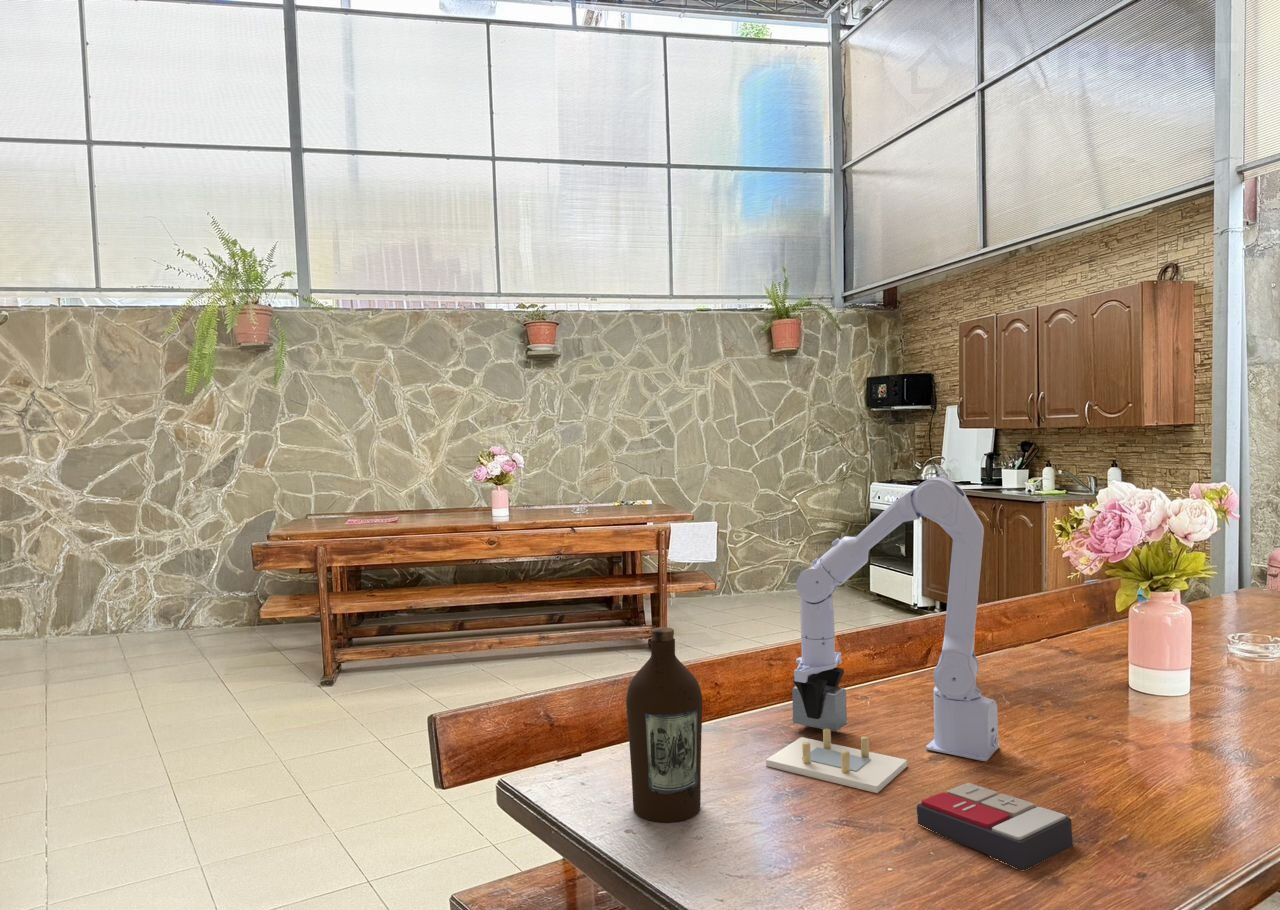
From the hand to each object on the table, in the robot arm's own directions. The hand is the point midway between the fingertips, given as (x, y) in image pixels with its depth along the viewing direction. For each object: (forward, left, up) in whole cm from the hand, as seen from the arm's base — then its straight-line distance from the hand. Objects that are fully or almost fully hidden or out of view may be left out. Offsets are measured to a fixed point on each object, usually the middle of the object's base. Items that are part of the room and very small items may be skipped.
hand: (819, 713), depth 146 cm
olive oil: (+4, +40, -3) cm, 40 cm away
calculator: (-35, +23, -4) cm, 42 cm away
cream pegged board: (-9, +13, -3) cm, 16 cm away
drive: (0, 0, -2) cm, 2 cm away
